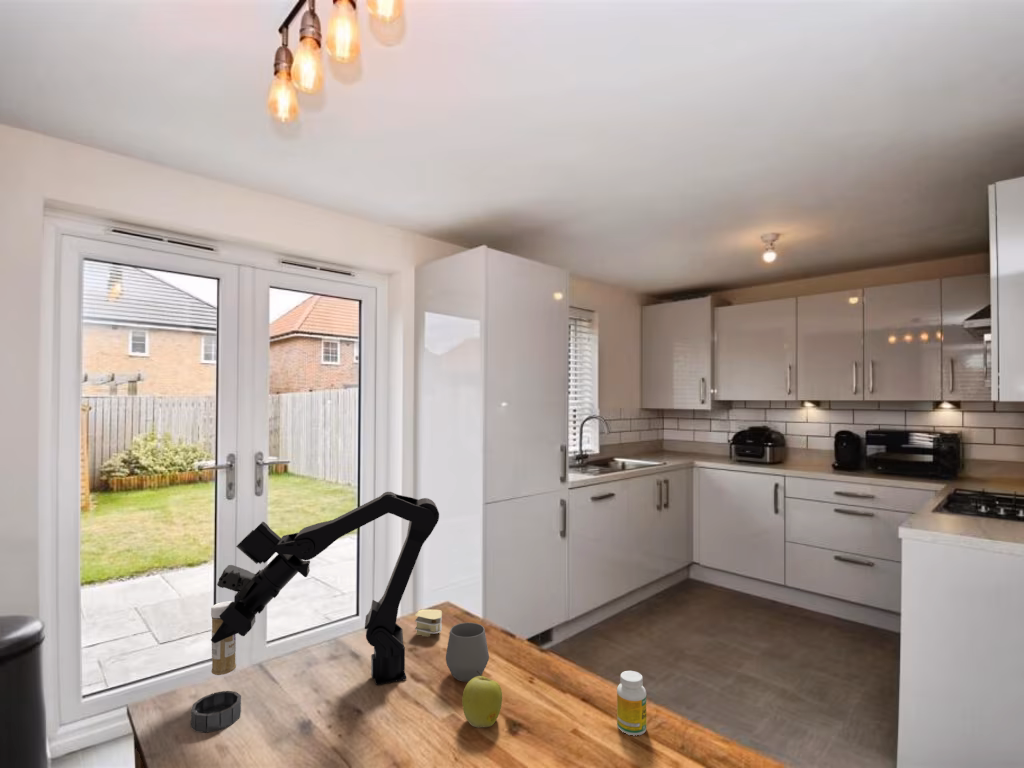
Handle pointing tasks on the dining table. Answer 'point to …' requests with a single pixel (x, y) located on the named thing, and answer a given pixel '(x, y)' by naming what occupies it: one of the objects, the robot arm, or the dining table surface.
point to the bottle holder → (215, 711)
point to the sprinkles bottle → (222, 644)
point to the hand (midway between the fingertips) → (216, 636)
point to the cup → (467, 651)
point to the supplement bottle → (631, 704)
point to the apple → (482, 701)
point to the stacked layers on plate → (428, 622)
